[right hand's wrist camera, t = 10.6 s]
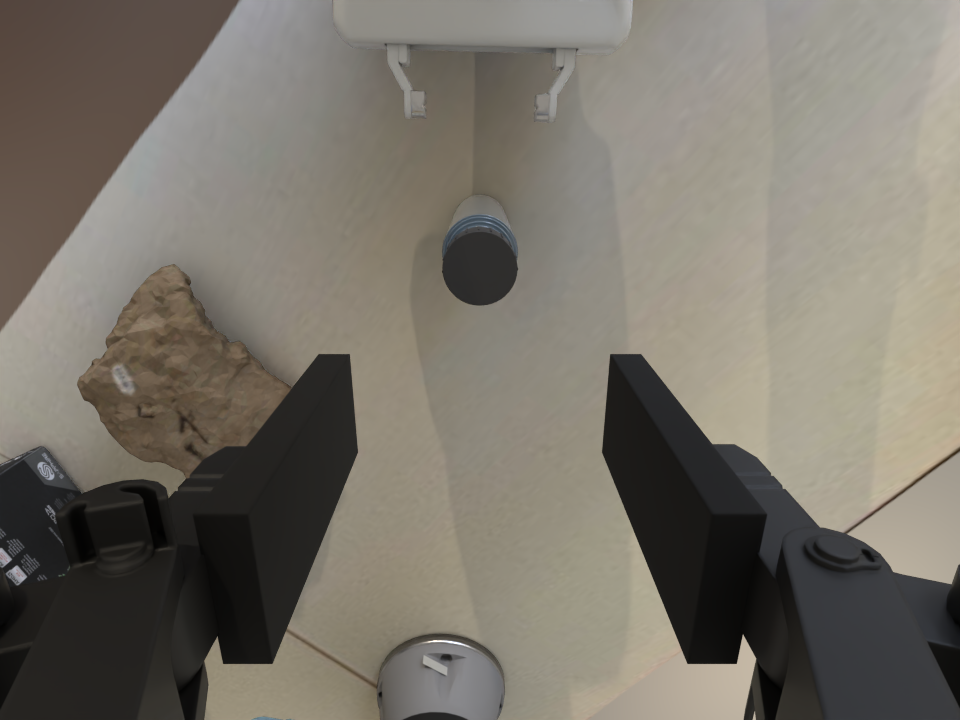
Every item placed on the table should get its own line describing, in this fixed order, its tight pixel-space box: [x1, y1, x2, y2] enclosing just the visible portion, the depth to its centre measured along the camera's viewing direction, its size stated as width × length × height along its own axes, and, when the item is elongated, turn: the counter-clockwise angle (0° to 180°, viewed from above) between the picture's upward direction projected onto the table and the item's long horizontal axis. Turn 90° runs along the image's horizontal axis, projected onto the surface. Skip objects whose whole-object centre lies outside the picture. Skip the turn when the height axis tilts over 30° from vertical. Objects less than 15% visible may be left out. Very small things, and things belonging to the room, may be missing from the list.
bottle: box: [442, 195, 518, 260], centre depth 41 cm, size 5×5×21 cm
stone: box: [77, 264, 291, 478], centre depth 54 cm, size 21×15×6 cm
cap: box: [442, 226, 518, 305], centre depth 32 cm, size 4×4×2 cm
